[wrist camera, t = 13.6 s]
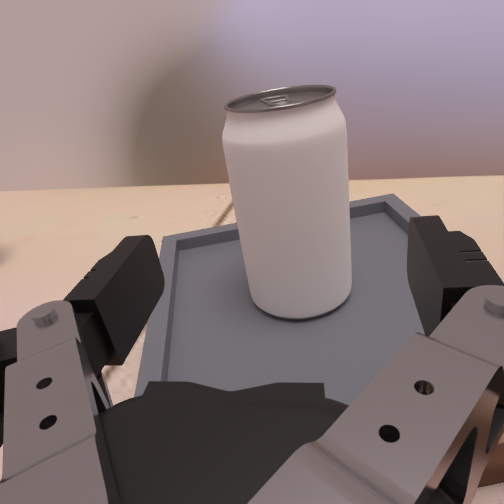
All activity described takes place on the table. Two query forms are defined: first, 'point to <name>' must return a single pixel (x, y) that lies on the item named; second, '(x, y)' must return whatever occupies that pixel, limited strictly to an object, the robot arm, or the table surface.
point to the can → (291, 198)
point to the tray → (277, 329)
